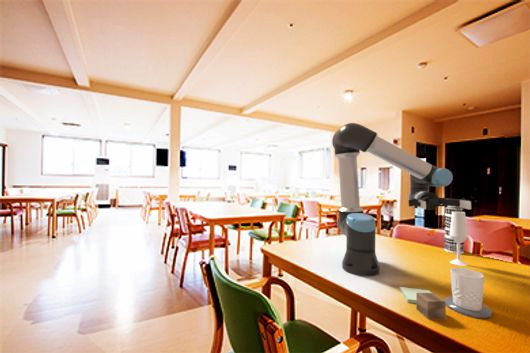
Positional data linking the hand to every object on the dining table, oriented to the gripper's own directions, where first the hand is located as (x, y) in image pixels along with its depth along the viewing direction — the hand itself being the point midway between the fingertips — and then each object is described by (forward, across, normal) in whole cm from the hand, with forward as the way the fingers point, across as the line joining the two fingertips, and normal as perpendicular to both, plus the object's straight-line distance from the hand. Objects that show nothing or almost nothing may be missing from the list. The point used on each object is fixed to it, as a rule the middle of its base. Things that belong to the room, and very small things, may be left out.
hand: (446, 205), depth 85 cm
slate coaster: (+13, 0, -30) cm, 32 cm away
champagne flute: (-34, -16, -31) cm, 48 cm away
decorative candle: (-56, -22, -31) cm, 68 cm away
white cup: (+13, 0, -29) cm, 32 cm away
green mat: (+10, +12, -30) cm, 33 cm away
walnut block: (+20, +12, -30) cm, 38 cm away
